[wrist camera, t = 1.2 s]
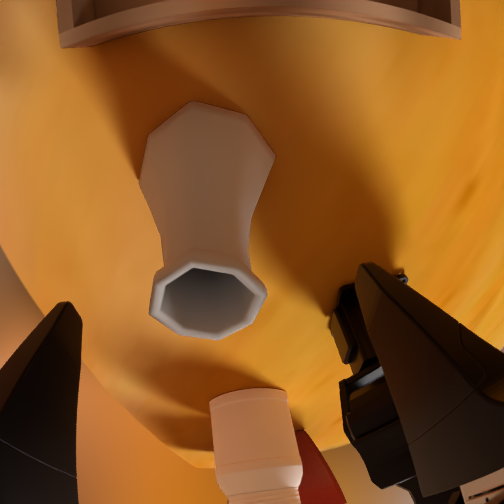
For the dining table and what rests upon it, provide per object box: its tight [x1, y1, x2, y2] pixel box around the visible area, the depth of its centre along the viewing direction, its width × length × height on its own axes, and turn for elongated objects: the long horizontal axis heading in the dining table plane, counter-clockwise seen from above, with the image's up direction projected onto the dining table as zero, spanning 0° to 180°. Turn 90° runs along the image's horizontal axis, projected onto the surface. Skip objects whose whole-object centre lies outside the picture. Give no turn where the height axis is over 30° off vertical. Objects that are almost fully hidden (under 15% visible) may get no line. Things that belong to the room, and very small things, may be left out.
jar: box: [209, 388, 303, 504], centre depth 30 cm, size 12×10×15 cm
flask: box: [139, 100, 276, 340], centre depth 12 cm, size 7×7×10 cm
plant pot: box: [228, 431, 347, 504], centre depth 43 cm, size 19×19×17 cm
